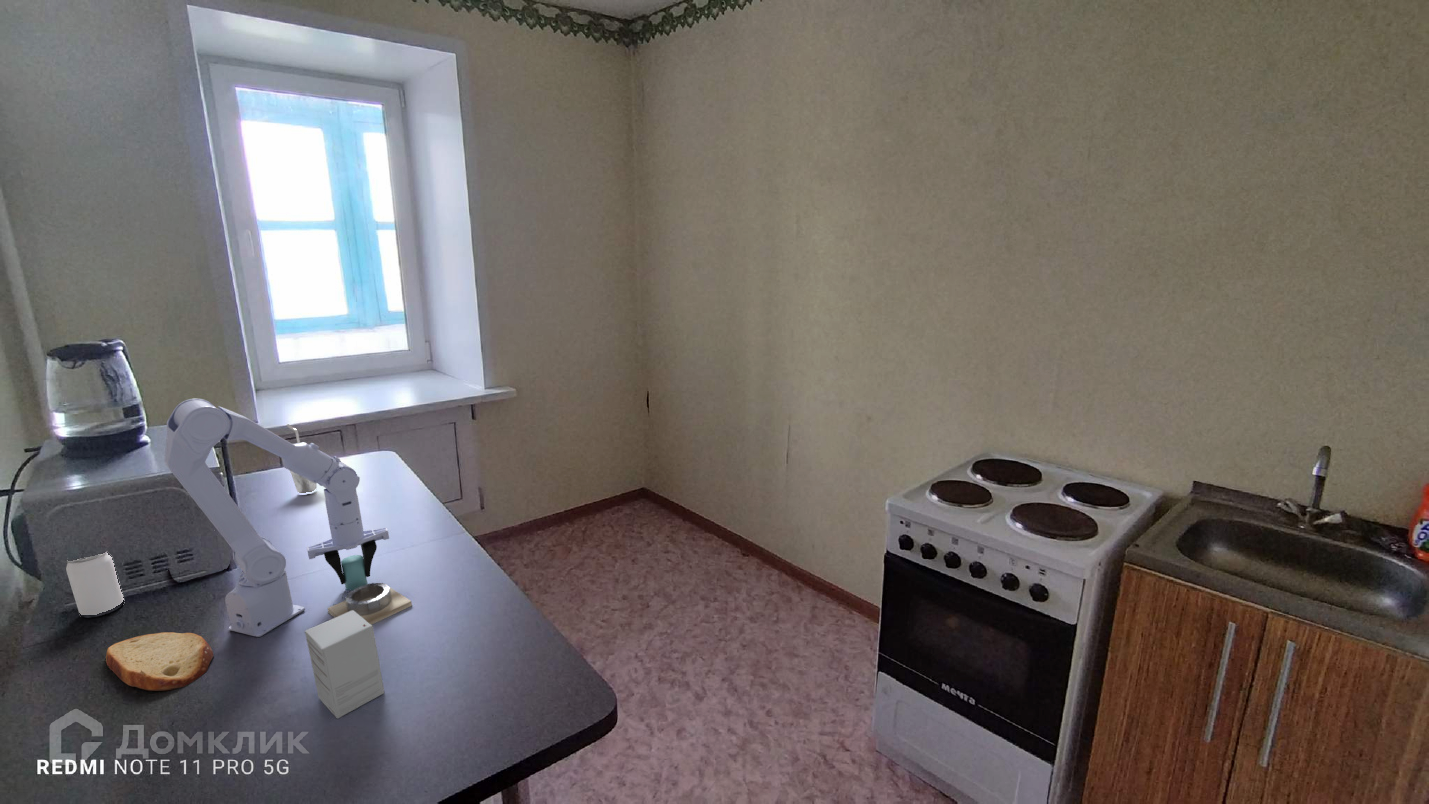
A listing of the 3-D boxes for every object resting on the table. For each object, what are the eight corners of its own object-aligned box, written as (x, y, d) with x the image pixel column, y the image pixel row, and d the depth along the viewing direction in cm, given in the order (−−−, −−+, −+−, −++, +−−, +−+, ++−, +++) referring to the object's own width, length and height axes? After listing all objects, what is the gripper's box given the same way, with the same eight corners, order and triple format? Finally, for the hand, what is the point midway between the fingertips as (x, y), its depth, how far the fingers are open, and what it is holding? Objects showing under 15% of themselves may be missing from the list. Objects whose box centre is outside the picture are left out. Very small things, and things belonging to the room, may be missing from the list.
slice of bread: (116, 648, 112) (111, 630, 111) (235, 626, 118) (231, 608, 117) (56, 717, 96) (49, 697, 95) (198, 687, 102) (193, 668, 101)
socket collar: (369, 618, 118) (367, 607, 117) (338, 611, 120) (336, 600, 119) (399, 597, 124) (397, 586, 124) (370, 591, 127) (368, 580, 126)
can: (134, 601, 126) (119, 547, 123) (100, 620, 119) (84, 564, 116) (105, 599, 126) (90, 546, 123) (70, 618, 120) (53, 563, 117)
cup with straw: (288, 501, 174) (275, 433, 169) (291, 490, 182) (279, 424, 177) (323, 494, 178) (311, 428, 173) (325, 484, 186) (314, 420, 181)
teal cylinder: (355, 591, 128) (351, 565, 127) (341, 588, 130) (336, 562, 128) (371, 581, 132) (367, 556, 131) (357, 579, 133) (352, 553, 132)
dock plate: (411, 605, 123) (411, 601, 123) (354, 632, 115) (353, 628, 115) (384, 587, 130) (384, 583, 130) (328, 612, 121) (327, 608, 121)
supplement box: (366, 674, 104) (354, 608, 101) (385, 694, 99) (374, 625, 96) (317, 698, 98) (303, 629, 95) (335, 720, 94) (321, 648, 91)
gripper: (305, 536, 120) (317, 598, 123) (387, 516, 128) (396, 575, 132) (301, 523, 125) (313, 583, 129) (381, 505, 134) (390, 561, 137)
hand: (355, 578), depth 130 cm, fingers closed on teal cylinder, 4 cm apart
